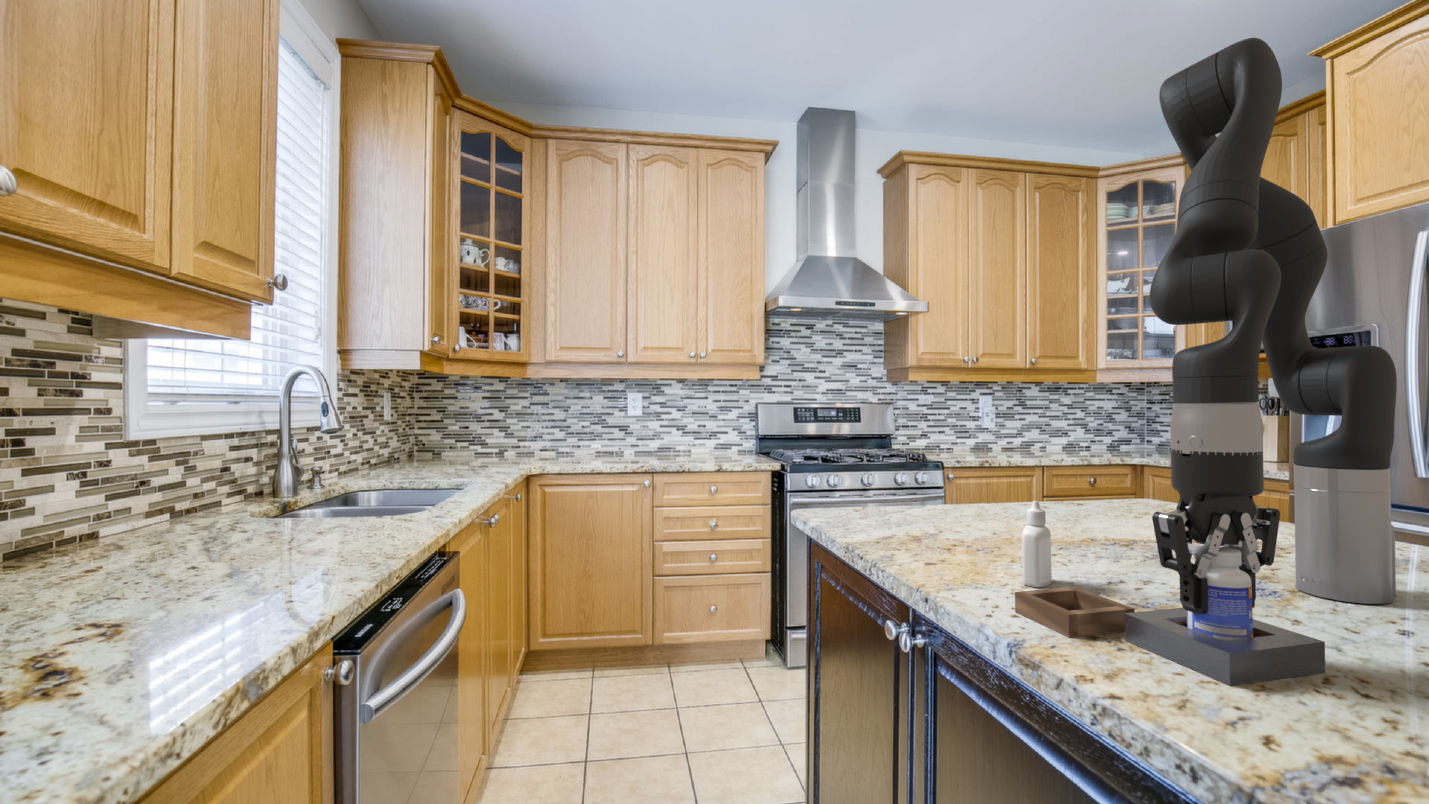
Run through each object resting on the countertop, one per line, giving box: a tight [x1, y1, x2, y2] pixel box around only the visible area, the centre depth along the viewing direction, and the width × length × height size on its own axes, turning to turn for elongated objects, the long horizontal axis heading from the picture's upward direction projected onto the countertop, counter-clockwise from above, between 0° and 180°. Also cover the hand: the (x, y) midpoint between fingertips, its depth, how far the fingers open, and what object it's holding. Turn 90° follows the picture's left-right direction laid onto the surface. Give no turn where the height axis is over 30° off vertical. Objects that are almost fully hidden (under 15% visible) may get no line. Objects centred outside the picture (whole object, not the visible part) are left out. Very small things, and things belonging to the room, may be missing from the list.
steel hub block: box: [1124, 606, 1326, 686], centre depth 65 cm, size 12×12×3 cm
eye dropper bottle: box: [1021, 500, 1053, 589], centre depth 92 cm, size 4×6×12 cm
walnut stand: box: [1014, 586, 1136, 638], centre depth 76 cm, size 9×9×2 cm
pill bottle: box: [1187, 544, 1254, 641], centre depth 65 cm, size 5×5×10 cm
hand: (1218, 608), depth 65 cm, fingers closed on pill bottle, 5 cm apart
